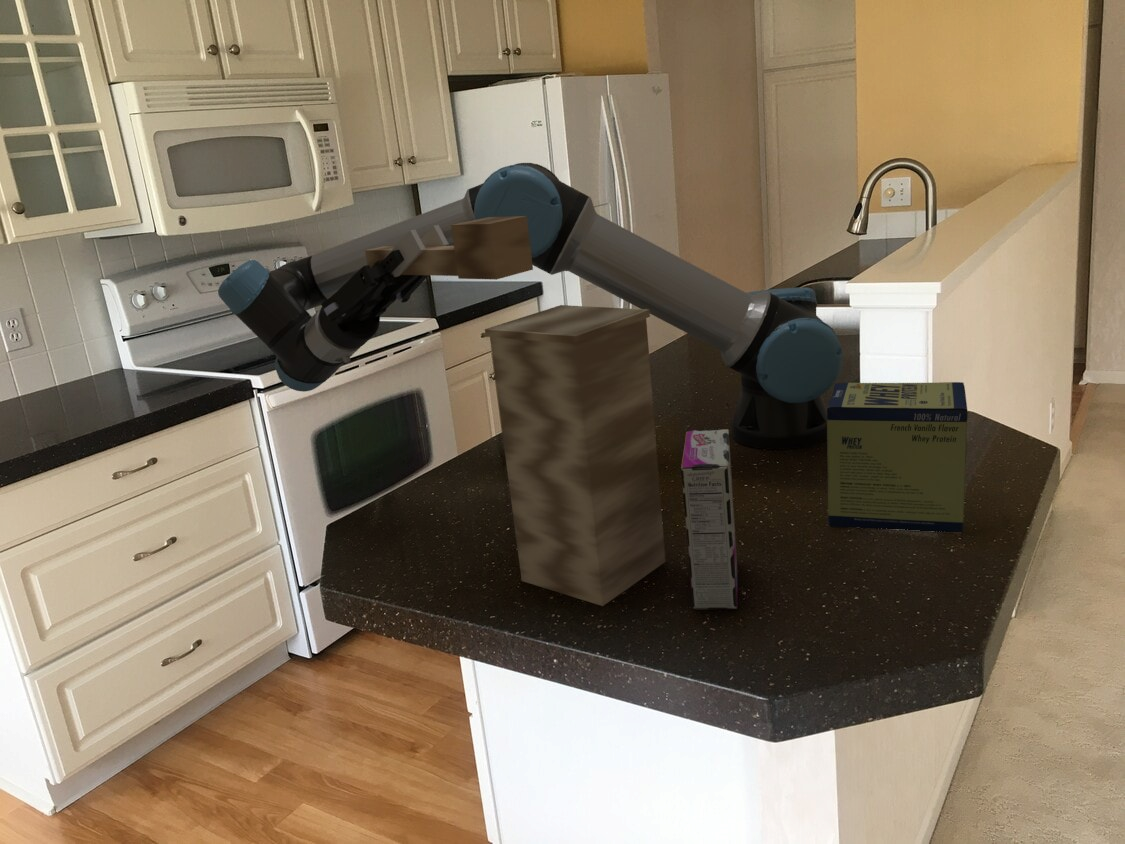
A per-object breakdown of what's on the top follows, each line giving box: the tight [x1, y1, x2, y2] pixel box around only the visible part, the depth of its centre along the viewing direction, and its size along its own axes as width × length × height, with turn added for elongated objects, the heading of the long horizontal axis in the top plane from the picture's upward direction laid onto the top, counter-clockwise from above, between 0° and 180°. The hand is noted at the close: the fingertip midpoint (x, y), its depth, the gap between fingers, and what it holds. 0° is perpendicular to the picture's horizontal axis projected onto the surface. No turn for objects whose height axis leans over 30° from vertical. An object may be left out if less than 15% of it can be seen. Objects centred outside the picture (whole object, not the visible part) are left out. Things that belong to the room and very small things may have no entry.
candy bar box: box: [680, 429, 738, 611], centre depth 100 cm, size 11×5×16 cm, turn 170°
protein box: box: [826, 381, 969, 533], centre depth 113 cm, size 10×16×16 cm
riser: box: [484, 304, 666, 607], centre depth 104 cm, size 13×13×30 cm
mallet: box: [365, 216, 534, 281], centre depth 110 cm, size 24×6×6 cm, turn 50°
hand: (429, 237), depth 111 cm, fingers closed on mallet, 3 cm apart
